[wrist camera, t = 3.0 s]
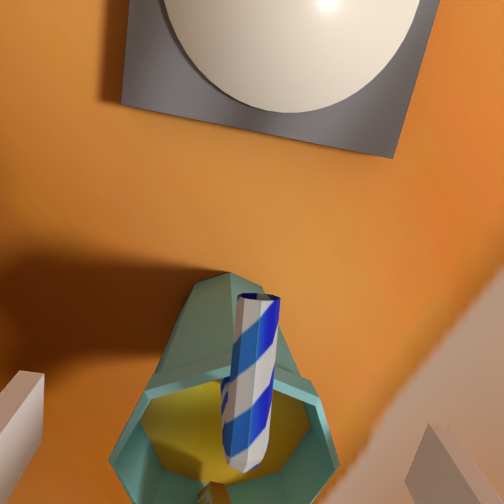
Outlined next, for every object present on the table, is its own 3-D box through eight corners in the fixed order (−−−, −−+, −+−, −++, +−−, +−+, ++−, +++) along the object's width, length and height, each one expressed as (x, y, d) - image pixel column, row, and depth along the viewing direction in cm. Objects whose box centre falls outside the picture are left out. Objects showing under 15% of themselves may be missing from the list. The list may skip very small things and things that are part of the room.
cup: (162, 172, 20) (17, 302, 6) (310, 185, 21) (486, 329, 7) (156, 398, 25) (65, 775, 11) (279, 402, 25) (347, 761, 11)
